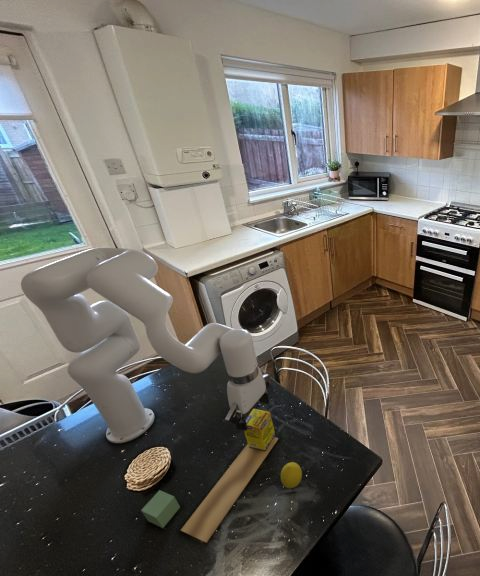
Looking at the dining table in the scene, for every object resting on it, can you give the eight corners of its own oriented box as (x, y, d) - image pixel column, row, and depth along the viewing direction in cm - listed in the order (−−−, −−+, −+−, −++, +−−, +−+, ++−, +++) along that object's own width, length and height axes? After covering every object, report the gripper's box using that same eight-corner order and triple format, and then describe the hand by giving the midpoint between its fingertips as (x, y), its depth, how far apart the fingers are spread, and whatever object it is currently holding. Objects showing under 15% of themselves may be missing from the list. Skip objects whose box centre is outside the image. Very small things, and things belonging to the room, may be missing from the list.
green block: (147, 521, 78) (140, 510, 75) (165, 500, 82) (159, 490, 79) (163, 528, 76) (156, 517, 74) (180, 507, 81) (174, 496, 78)
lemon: (285, 498, 83) (281, 480, 79) (281, 479, 87) (276, 462, 83) (305, 488, 85) (302, 471, 81) (300, 470, 89) (297, 453, 86)
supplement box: (266, 452, 94) (259, 428, 89) (248, 448, 95) (241, 424, 90) (276, 434, 99) (270, 411, 94) (259, 431, 100) (252, 408, 95)
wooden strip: (180, 530, 76) (180, 530, 76) (257, 431, 100) (257, 431, 100) (206, 543, 74) (206, 542, 74) (278, 438, 98) (278, 438, 98)
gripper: (253, 348, 91) (261, 390, 99) (206, 391, 77) (221, 436, 85) (275, 354, 89) (282, 396, 97) (231, 400, 75) (244, 444, 83)
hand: (253, 414), depth 91 cm, fingers open, 9 cm apart
